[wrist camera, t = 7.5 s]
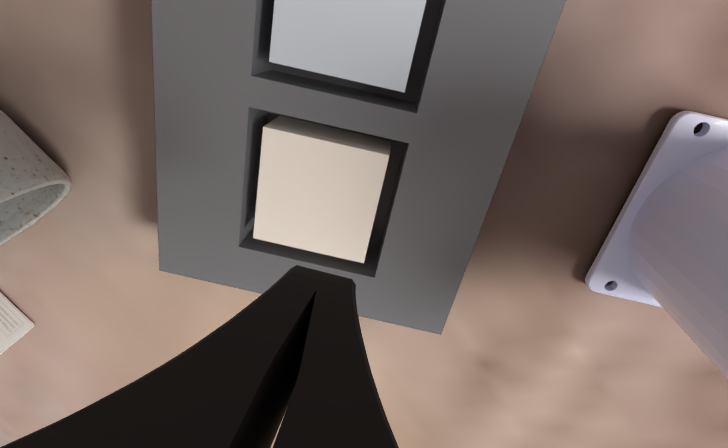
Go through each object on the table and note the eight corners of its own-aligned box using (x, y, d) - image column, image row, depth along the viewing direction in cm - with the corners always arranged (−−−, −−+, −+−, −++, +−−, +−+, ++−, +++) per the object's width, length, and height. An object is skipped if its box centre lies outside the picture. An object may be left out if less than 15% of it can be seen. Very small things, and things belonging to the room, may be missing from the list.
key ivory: (391, 140, 16) (389, 155, 14) (368, 239, 18) (363, 263, 16) (279, 115, 16) (263, 126, 14) (268, 216, 18) (252, 238, 16)
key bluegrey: (439, -60, 13) (444, -74, 11) (405, 84, 15) (404, 92, 13) (301, -91, 13) (284, -110, 11) (286, 57, 15) (268, 61, 13)
